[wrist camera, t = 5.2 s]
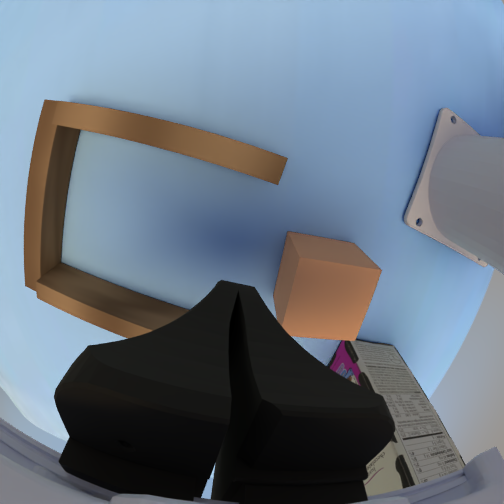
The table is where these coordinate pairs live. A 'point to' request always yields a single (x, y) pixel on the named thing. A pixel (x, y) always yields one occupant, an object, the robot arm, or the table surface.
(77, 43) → the table surface
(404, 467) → the candy bar box
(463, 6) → the table surface
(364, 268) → the cube
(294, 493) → the robot arm
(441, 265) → the table surface
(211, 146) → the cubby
